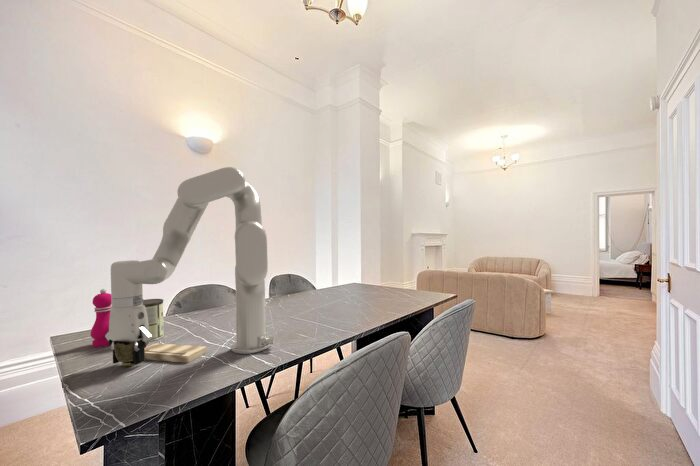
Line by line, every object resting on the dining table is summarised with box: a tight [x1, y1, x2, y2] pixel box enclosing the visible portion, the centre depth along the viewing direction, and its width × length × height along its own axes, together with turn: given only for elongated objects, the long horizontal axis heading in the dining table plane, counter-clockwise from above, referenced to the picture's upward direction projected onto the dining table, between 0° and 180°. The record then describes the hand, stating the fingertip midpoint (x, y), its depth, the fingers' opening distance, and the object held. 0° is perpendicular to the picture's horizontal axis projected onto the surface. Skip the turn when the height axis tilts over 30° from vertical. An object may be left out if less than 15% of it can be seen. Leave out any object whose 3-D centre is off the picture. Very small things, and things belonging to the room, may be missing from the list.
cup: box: [113, 338, 144, 368], centre depth 90 cm, size 8×7×8 cm
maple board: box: [144, 342, 208, 364], centre depth 97 cm, size 20×8×2 cm, turn 77°
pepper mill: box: [90, 288, 112, 348], centre depth 109 cm, size 7×7×20 cm
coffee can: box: [143, 298, 165, 343], centre depth 114 cm, size 10×10×14 cm
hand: (128, 361), depth 89 cm, fingers closed on cup, 6 cm apart
